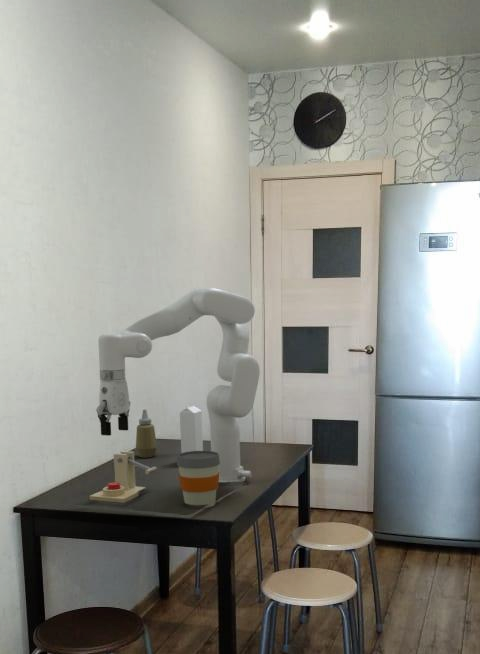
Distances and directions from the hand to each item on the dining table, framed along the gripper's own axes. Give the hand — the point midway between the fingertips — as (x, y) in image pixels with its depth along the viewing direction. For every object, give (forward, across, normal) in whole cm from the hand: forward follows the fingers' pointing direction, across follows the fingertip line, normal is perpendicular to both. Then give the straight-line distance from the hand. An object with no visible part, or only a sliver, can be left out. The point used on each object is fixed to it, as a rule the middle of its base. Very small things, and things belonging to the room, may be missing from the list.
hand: (114, 432), depth 255 cm
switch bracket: (+21, +9, +3) cm, 23 cm away
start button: (+17, -1, +1) cm, 17 cm away
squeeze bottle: (+20, +61, +24) cm, 69 cm away
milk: (+20, +56, +2) cm, 60 cm away
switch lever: (+12, +9, -1) cm, 16 cm away
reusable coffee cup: (+21, +3, -26) cm, 34 cm away
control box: (+21, -1, +1) cm, 21 cm away
